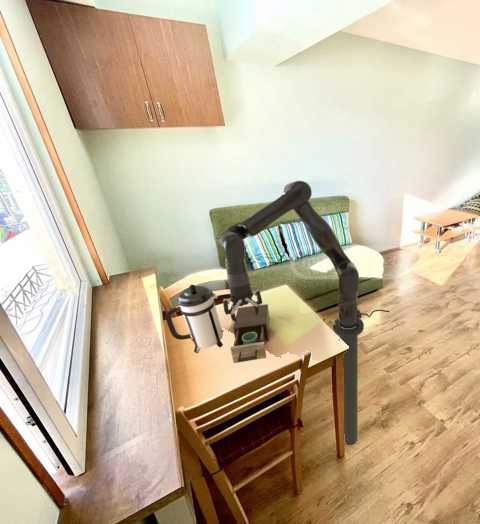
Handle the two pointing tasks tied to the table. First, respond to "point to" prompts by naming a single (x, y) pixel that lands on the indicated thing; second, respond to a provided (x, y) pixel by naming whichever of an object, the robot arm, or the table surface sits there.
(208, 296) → the coffee press
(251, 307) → the cabinet
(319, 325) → the table surface
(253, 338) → the pot
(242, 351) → the drawer
